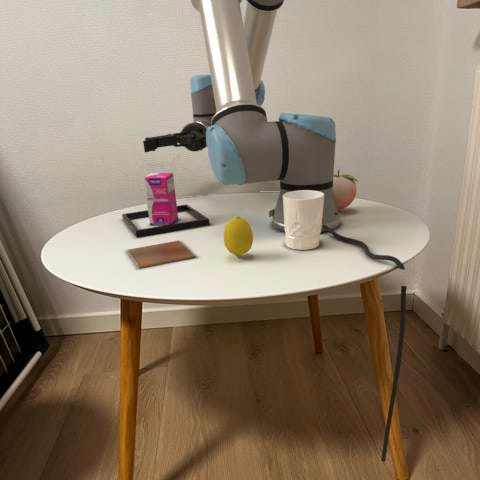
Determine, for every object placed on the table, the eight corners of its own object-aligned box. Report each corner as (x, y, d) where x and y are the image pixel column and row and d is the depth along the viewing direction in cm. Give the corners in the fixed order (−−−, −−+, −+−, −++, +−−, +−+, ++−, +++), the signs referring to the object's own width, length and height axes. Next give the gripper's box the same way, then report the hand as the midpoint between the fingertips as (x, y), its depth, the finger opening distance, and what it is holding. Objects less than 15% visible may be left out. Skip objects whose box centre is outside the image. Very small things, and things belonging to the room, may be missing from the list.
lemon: (244, 264, 79) (242, 221, 75) (219, 259, 82) (216, 218, 78) (259, 254, 83) (257, 213, 79) (234, 251, 86) (232, 211, 82)
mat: (194, 257, 84) (194, 255, 84) (138, 268, 80) (138, 266, 80) (178, 242, 93) (178, 240, 92) (127, 251, 89) (127, 249, 89)
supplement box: (149, 225, 105) (142, 177, 100) (157, 219, 110) (150, 172, 105) (172, 225, 104) (165, 176, 99) (179, 219, 110) (173, 172, 104)
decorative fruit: (316, 216, 105) (317, 173, 100) (318, 207, 112) (320, 167, 107) (355, 216, 103) (359, 173, 98) (355, 208, 110) (359, 167, 105)
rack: (209, 225, 103) (209, 218, 102) (136, 237, 97) (135, 231, 97) (187, 209, 118) (186, 204, 117) (122, 219, 112) (121, 214, 111)
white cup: (321, 251, 83) (323, 199, 78) (280, 250, 85) (280, 199, 80) (322, 238, 90) (324, 189, 85) (285, 238, 91) (285, 190, 87)
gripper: (238, 148, 125) (219, 161, 107) (159, 150, 130) (127, 162, 112) (237, 120, 121) (216, 128, 103) (155, 123, 127) (122, 131, 109)
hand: (170, 146), depth 108 cm, fingers open, 13 cm apart
